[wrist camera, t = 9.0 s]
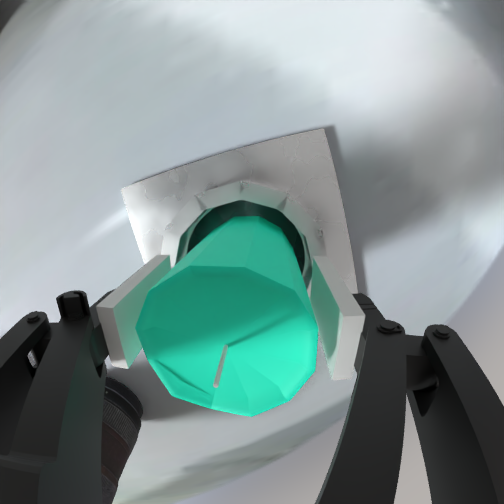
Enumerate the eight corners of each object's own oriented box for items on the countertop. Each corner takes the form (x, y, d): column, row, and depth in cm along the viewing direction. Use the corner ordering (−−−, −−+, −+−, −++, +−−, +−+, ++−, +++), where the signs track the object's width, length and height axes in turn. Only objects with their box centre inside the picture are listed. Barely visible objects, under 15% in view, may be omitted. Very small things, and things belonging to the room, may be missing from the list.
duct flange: (125, 188, 18) (104, 191, 16) (321, 129, 17) (331, 122, 14) (187, 354, 22) (178, 377, 19) (358, 319, 20) (370, 339, 17)
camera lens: (115, 426, 26) (68, 518, 12) (72, 377, 24) (3, 467, 10) (164, 420, 25) (121, 537, 10) (117, 364, 23) (39, 484, 9)
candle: (212, 205, 18) (116, 252, 6) (305, 227, 18) (365, 314, 6) (196, 290, 19) (118, 416, 8) (280, 311, 19) (288, 459, 8)
